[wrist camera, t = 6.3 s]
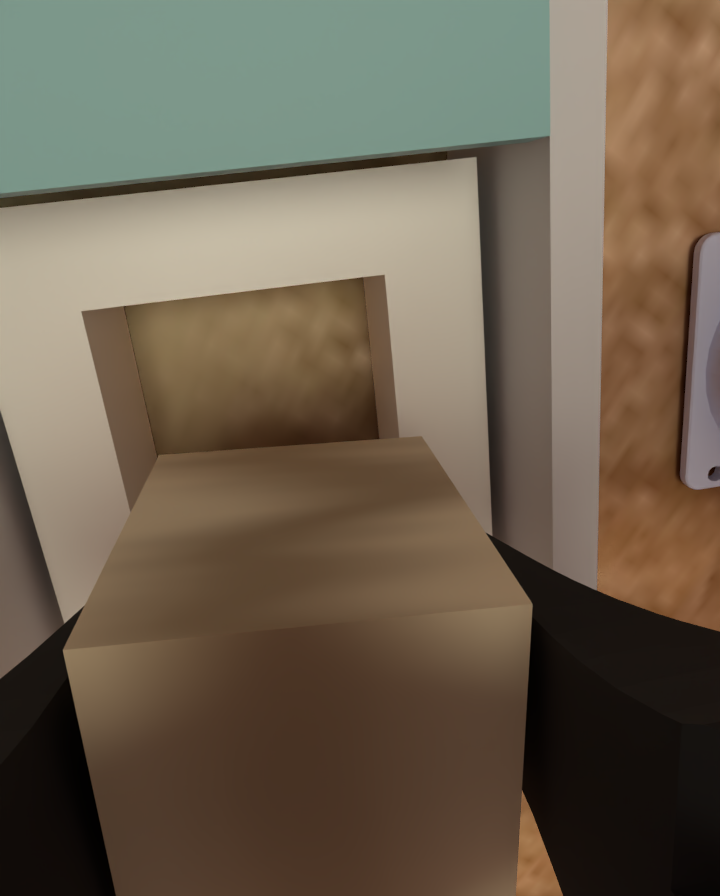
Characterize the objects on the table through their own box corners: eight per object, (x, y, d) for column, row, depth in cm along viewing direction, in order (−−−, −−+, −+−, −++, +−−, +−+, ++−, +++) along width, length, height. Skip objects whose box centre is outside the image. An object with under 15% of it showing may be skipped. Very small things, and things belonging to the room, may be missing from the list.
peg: (421, 435, 13) (532, 603, 7) (422, 652, 15) (513, 924, 9) (159, 454, 12) (62, 650, 7) (190, 676, 14) (134, 979, 9)
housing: (458, -483, 14) (627, -1108, 7) (497, 526, 22) (595, 659, 15) (-246, -468, 13) (-795, -1196, 6) (66, 593, 21) (-29, 769, 14)
